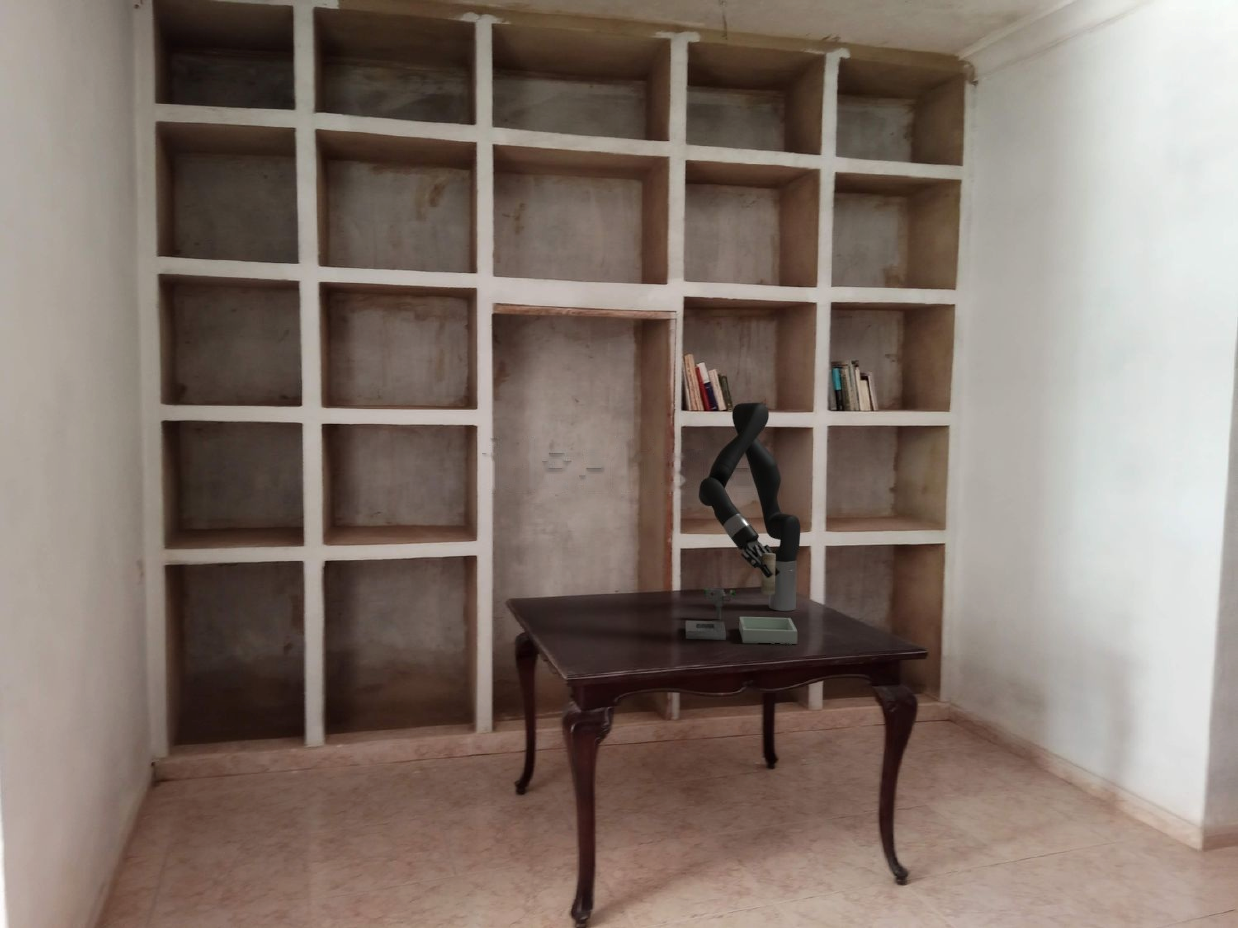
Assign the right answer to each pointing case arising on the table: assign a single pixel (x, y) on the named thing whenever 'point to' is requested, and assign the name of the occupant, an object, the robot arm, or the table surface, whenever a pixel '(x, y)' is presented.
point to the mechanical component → (718, 598)
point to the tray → (767, 630)
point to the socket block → (705, 630)
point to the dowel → (769, 583)
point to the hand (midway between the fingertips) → (774, 574)
